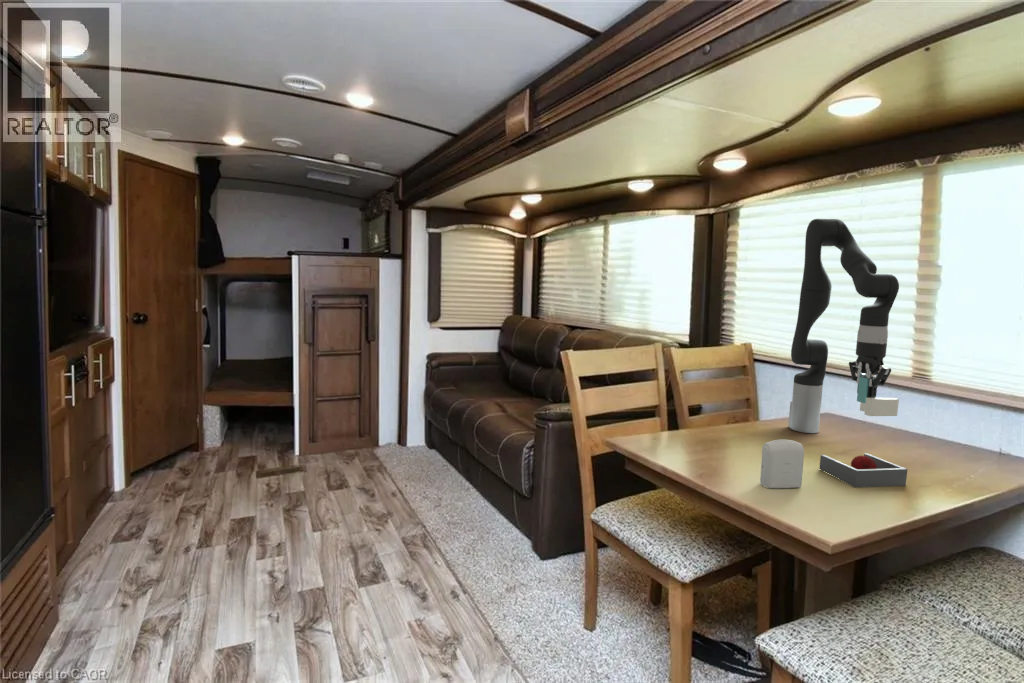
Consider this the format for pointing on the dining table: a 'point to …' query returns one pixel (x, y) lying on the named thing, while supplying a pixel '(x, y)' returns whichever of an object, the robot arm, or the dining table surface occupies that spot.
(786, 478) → the photo printer
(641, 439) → the dining table surface
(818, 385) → the robot arm
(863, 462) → the onion
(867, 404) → the teal-handled white slab
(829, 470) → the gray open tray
